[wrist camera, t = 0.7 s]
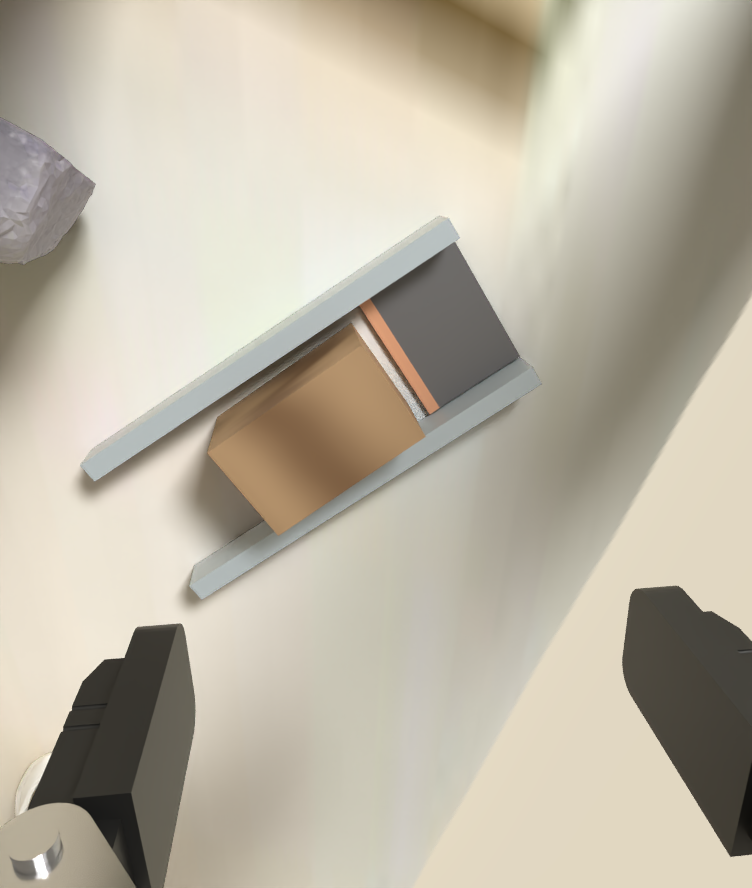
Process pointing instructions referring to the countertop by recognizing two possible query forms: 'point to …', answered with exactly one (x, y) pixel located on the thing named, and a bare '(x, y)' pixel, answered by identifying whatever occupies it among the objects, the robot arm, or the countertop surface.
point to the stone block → (35, 195)
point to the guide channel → (412, 347)
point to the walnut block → (313, 431)
